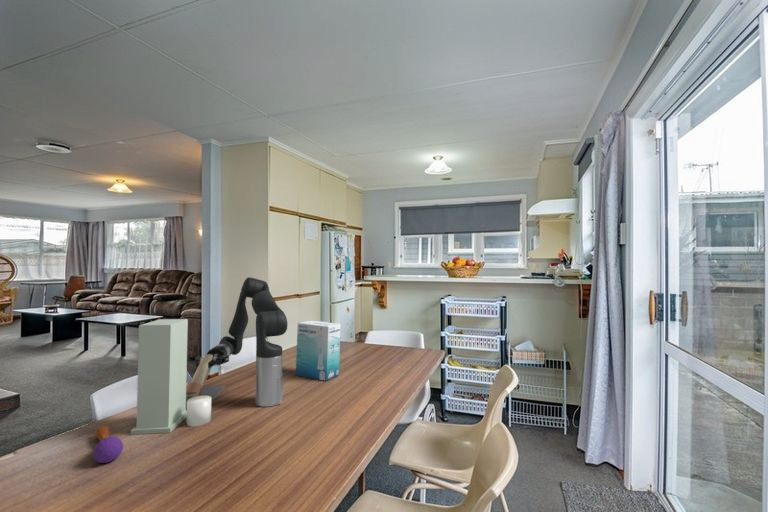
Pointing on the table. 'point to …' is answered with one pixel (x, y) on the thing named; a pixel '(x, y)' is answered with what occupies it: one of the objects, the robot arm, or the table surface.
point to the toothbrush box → (318, 350)
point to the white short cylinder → (198, 410)
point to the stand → (161, 376)
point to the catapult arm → (198, 378)
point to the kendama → (107, 446)
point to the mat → (211, 391)
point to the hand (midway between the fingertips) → (203, 365)
